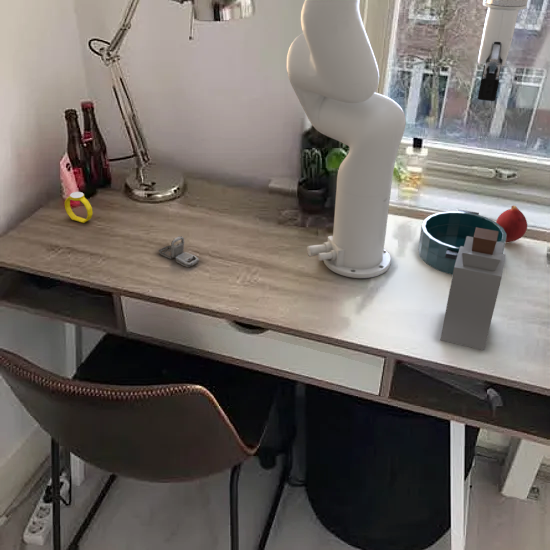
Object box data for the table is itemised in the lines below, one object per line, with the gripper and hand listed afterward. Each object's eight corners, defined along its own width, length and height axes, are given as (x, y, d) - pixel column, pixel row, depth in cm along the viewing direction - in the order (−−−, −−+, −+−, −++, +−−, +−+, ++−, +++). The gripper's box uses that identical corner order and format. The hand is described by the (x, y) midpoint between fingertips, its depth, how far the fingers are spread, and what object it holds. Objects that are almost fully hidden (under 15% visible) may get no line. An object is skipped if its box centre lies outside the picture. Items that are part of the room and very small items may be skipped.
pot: (443, 281, 116) (447, 255, 114) (404, 241, 129) (408, 216, 126) (517, 269, 120) (523, 244, 117) (472, 231, 133) (477, 207, 130)
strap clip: (200, 262, 121) (199, 242, 118) (188, 268, 119) (187, 248, 116) (169, 247, 125) (167, 227, 123) (157, 253, 123) (155, 233, 121)
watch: (64, 220, 134) (59, 194, 131) (72, 215, 136) (68, 189, 133) (88, 226, 132) (83, 200, 129) (96, 220, 134) (92, 194, 131)
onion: (519, 236, 131) (528, 200, 127) (525, 250, 127) (534, 213, 122) (489, 234, 132) (497, 198, 128) (495, 248, 127) (503, 211, 123)
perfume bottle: (440, 340, 102) (459, 240, 92) (446, 316, 107) (465, 220, 98) (484, 350, 100) (508, 249, 90) (488, 325, 105) (511, 228, 96)
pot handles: (467, 262, 114) (468, 257, 114) (444, 257, 115) (445, 253, 115) (478, 216, 129) (479, 212, 129) (457, 213, 130) (458, 209, 130)
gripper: (486, -11, 124) (470, 79, 133) (481, 4, 110) (464, 103, 119) (528, -9, 122) (508, 82, 131) (528, 7, 108) (506, 108, 117)
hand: (487, 92), depth 125 cm, fingers open, 9 cm apart
